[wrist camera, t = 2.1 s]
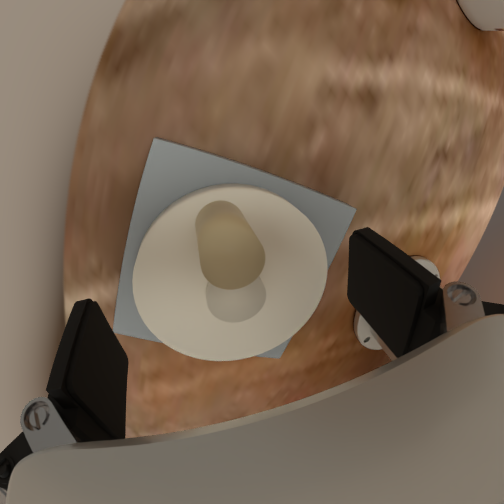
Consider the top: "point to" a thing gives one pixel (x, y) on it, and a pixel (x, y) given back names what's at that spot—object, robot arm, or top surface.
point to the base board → (200, 176)
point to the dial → (229, 272)
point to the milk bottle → (484, 13)
